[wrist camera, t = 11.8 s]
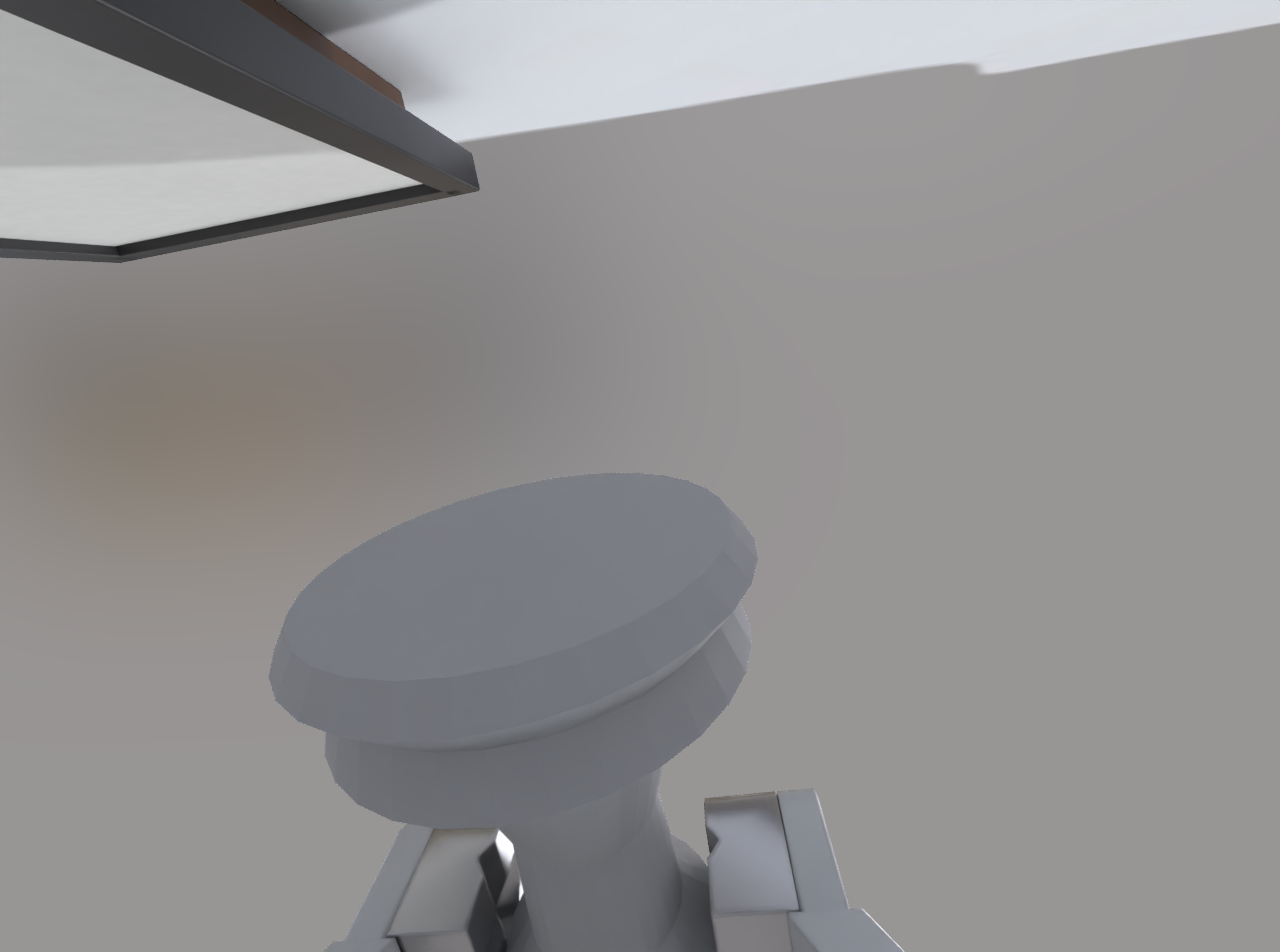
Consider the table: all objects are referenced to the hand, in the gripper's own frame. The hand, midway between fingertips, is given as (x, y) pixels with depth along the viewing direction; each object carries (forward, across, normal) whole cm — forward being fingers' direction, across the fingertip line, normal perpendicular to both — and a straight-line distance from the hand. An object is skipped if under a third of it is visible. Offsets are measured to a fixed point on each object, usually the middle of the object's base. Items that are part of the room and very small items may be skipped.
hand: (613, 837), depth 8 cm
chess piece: (-1, 0, -5) cm, 5 cm away
